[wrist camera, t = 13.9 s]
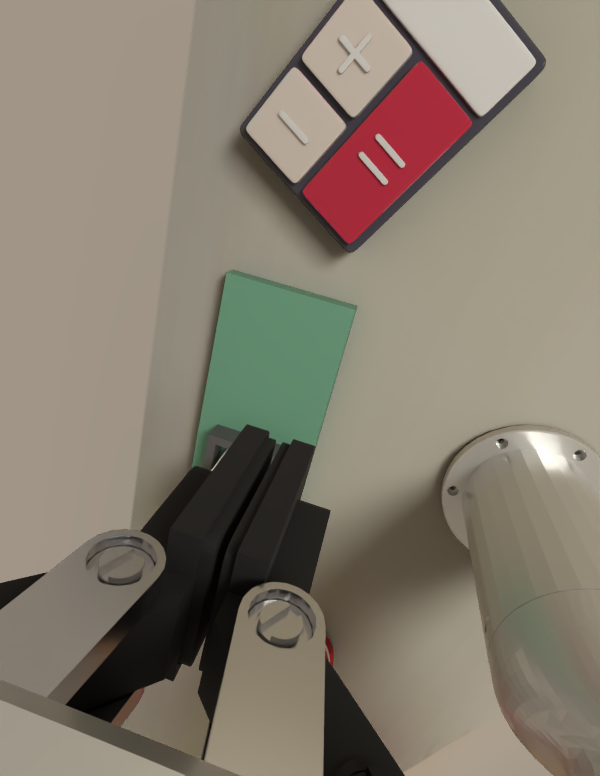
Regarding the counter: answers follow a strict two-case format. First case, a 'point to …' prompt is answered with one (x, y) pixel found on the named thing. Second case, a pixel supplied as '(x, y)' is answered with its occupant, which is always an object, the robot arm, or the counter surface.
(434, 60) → the calculator
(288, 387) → the board
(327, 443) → the counter surface
